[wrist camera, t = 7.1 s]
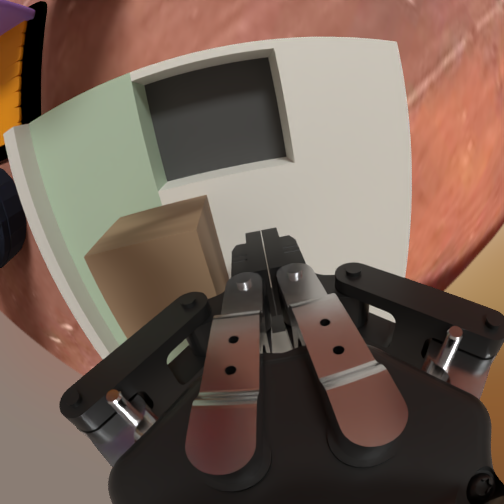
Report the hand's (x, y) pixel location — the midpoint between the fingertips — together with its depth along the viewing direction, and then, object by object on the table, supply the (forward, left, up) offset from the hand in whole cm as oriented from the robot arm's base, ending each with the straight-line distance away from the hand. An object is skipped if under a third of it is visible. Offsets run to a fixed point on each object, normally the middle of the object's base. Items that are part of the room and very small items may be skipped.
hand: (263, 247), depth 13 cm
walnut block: (+5, 0, -2) cm, 5 cm away
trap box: (+2, 0, -4) cm, 4 cm away
